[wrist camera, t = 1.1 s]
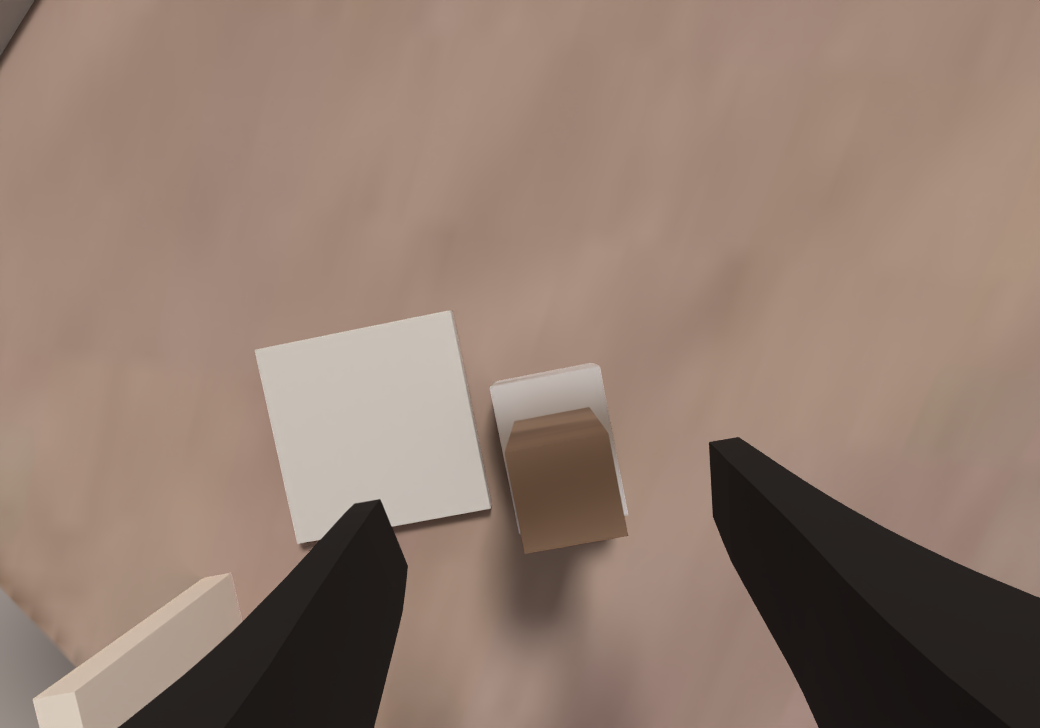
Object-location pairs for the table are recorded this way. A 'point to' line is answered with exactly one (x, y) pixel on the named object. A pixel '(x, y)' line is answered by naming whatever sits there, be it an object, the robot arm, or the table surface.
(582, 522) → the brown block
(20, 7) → the adjustable wrench
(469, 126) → the table surface
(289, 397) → the mat
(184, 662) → the tile
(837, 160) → the table surface
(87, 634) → the table surface
